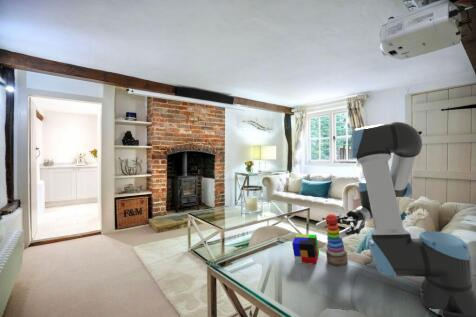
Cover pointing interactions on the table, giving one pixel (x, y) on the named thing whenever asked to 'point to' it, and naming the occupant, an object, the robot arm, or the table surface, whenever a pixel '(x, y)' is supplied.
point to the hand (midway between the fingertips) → (327, 230)
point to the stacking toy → (334, 237)
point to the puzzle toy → (305, 248)
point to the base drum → (337, 259)
